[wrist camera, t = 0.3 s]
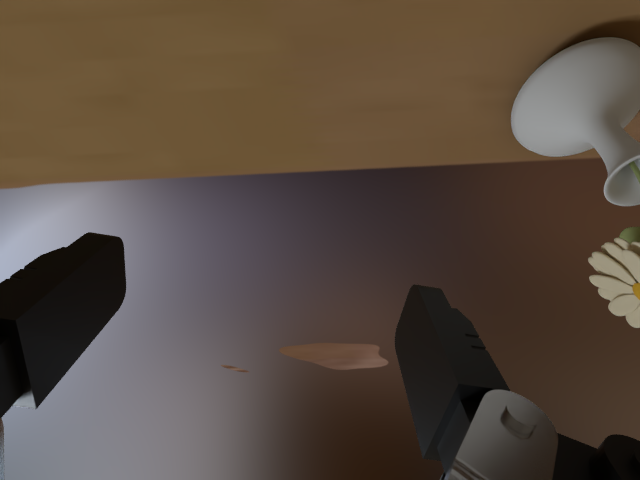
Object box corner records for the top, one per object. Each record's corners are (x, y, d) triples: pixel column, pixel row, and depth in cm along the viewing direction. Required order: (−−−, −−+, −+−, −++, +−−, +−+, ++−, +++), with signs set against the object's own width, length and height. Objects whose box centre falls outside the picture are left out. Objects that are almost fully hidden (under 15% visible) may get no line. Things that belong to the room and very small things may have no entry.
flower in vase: (536, 27, 32) (743, 223, 15) (670, 33, 32) (1048, 243, 14) (484, 155, 41) (573, 368, 24) (587, 162, 41) (754, 382, 24)
